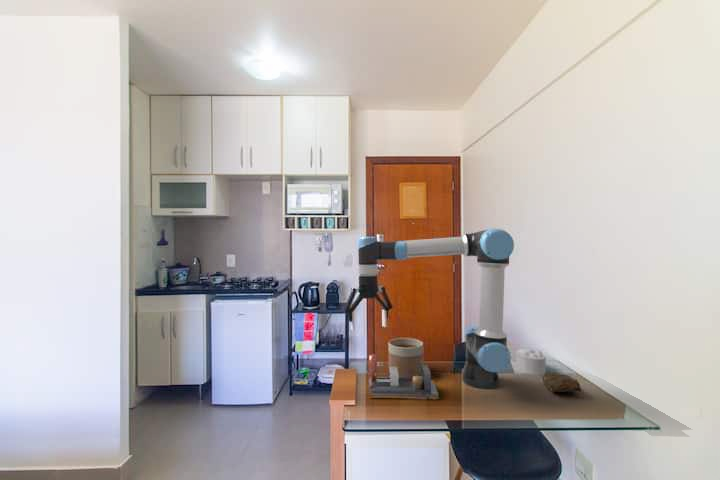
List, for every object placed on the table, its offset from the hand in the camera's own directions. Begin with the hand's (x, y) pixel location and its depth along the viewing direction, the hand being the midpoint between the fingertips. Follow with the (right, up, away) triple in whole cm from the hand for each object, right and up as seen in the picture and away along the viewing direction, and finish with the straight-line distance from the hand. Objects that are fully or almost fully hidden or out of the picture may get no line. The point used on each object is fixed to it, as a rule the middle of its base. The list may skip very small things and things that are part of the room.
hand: (368, 328), depth 133 cm
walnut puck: (+20, -23, 0) cm, 31 cm away
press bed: (+14, -25, 0) cm, 29 cm away
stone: (+77, -25, 0) cm, 81 cm away
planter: (+18, -26, +20) cm, 37 cm away
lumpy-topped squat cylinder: (+77, -26, +22) cm, 84 cm away
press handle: (+6, -23, 0) cm, 24 cm away
